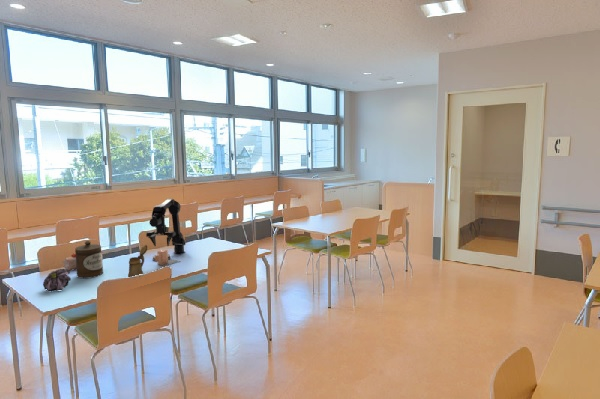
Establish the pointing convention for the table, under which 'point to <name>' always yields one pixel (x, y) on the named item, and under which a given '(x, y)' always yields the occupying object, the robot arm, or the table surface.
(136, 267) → the wooden mug
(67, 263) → the food item
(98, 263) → the wooden container
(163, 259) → the peach rounded piece
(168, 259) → the collar
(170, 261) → the mat
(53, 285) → the decorative flower
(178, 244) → the robot arm
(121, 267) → the table surface
